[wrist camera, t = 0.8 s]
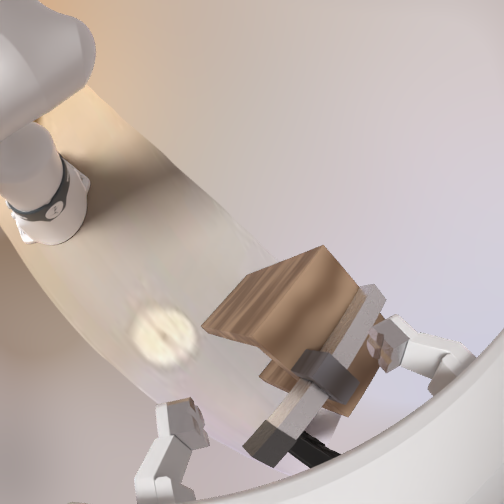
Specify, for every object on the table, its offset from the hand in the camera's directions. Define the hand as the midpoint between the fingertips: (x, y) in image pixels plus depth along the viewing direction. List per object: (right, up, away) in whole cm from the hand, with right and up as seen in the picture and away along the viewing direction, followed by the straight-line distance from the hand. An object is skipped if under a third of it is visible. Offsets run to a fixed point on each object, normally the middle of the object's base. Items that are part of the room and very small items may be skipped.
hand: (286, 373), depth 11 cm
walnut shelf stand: (-1, -11, +44) cm, 45 cm away
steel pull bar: (+6, -9, +18) cm, 21 cm away
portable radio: (+6, -36, +41) cm, 55 cm away
